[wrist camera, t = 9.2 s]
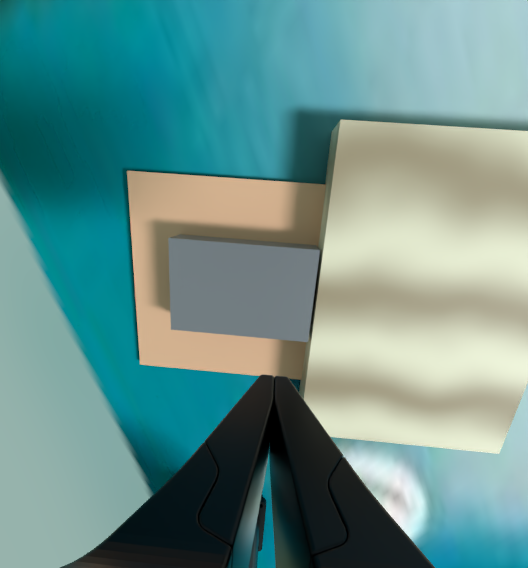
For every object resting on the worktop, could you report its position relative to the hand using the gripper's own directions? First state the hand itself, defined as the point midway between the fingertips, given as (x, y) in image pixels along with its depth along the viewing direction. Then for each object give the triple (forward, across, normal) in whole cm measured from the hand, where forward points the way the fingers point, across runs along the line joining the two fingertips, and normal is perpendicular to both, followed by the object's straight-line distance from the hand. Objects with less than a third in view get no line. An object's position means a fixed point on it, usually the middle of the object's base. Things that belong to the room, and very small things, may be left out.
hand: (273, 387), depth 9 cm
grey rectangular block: (+11, +2, 0) cm, 11 cm away
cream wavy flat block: (+11, -10, 0) cm, 15 cm away
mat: (+11, +4, 0) cm, 12 cm away
